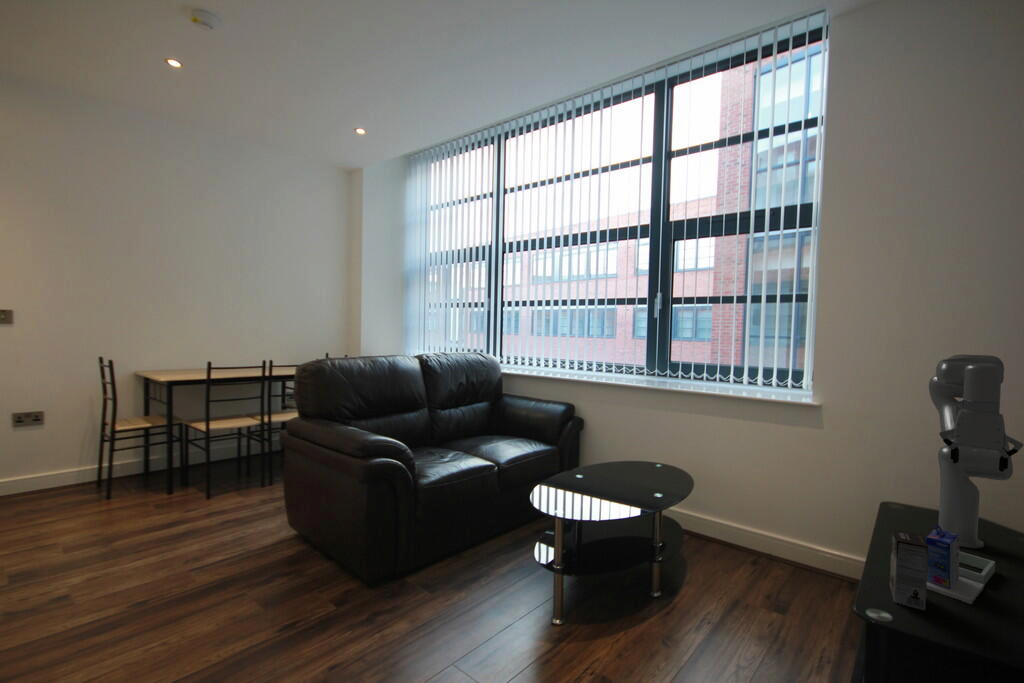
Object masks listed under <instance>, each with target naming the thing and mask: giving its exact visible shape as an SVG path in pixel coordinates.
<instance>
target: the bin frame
mask: <svg viewBox="0 0 1024 683" xmlns="http://www.w3.org/2000/svg"><path fill="white" fill-rule="evenodd" d="M959 564H964V565H966V566H967V565H968V566H970V567H974V568H977V569H980V570H982V572H981V573H980V572H976V571H972V570H970V569H966V568H963V567H960V566H959V576H960V577H963V578H966V579H969V580H972V581H975V582H978V583H981V584H984V586H986V585H987V583H988V582H989V580H990V579H991V578H992V576H993V575H994V574H995V572H996V561H994V560H991V559H988V558H984V557H980V556H978V555H973V554H971V553H970V554H969V553H967V552H963V551H960V550H959Z"/></svg>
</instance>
